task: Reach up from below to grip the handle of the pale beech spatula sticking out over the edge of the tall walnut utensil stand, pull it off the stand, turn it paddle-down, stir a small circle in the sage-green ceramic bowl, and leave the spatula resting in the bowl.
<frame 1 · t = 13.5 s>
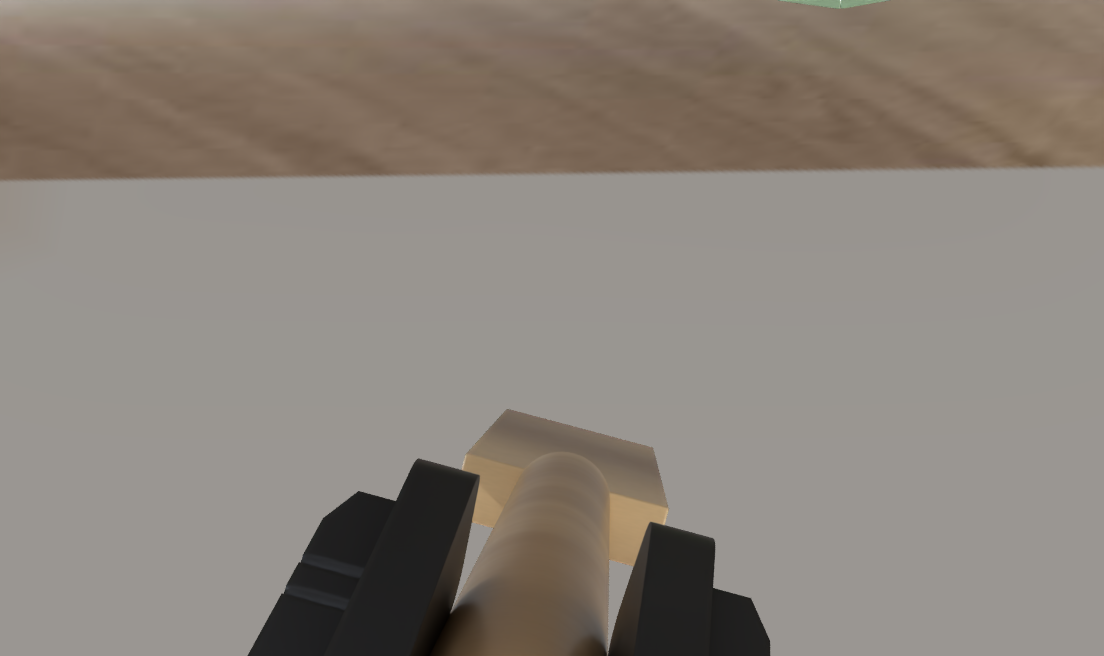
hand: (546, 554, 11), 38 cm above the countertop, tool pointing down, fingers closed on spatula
spatula: (560, 503, 25), point 28 cm above the countertop, tilted 120°, touching gripper
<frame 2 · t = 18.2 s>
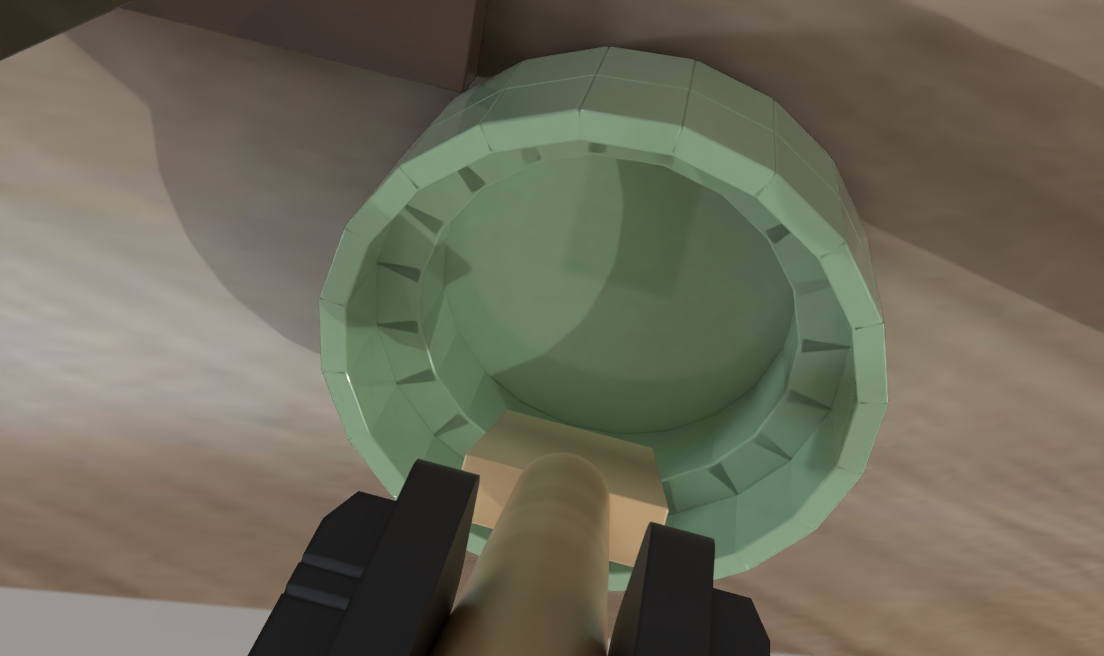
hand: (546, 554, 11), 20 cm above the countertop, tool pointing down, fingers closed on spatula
spatula: (560, 504, 25), point 10 cm above the countertop, tilted 120°, touching gripper
bowl: (616, 282, 32), on the countertop
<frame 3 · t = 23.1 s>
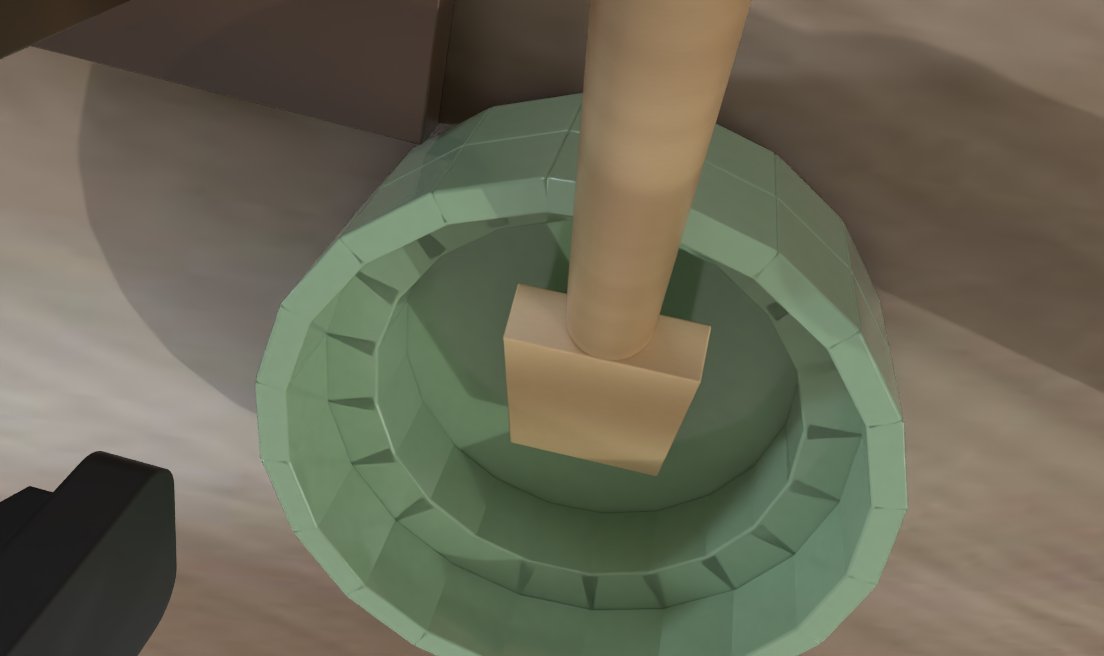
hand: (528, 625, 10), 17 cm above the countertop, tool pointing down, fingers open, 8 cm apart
spatula: (590, 417, 25), point 4 cm above the countertop, tilted 145°, touching bowl
bowl: (599, 350, 29), on the countertop
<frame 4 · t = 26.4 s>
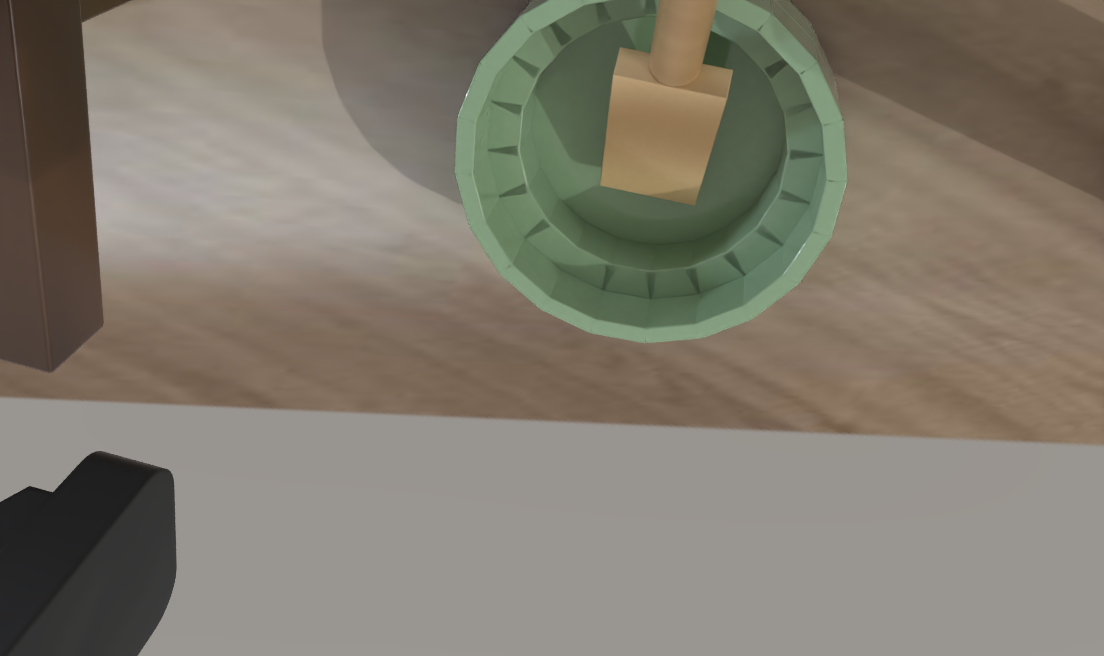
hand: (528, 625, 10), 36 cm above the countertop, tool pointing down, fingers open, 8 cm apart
spatula: (657, 146, 41), point 4 cm above the countertop, tilted 145°, touching bowl
bowl: (657, 125, 45), on the countertop
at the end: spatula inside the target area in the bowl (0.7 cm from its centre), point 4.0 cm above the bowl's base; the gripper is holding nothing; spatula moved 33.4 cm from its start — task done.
